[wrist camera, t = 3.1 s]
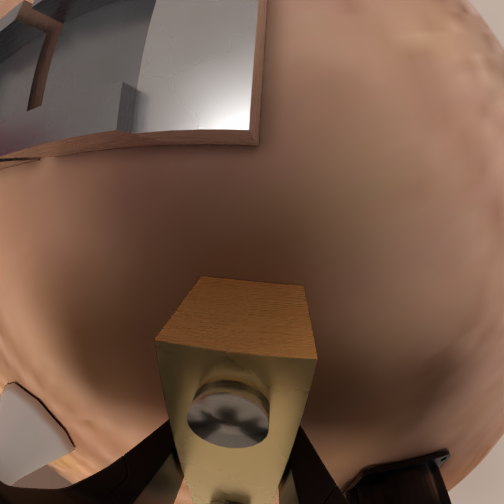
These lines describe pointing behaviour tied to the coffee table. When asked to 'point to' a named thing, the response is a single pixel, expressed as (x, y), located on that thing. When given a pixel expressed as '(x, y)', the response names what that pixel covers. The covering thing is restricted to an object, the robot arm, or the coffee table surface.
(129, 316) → the coffee table surface
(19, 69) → the grey metal base
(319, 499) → the robot arm
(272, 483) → the link bar
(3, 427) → the flask
